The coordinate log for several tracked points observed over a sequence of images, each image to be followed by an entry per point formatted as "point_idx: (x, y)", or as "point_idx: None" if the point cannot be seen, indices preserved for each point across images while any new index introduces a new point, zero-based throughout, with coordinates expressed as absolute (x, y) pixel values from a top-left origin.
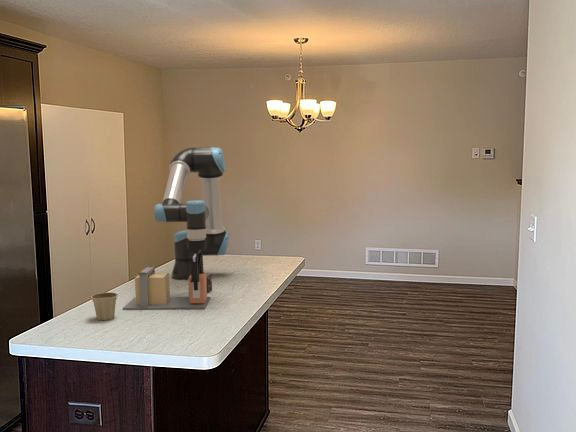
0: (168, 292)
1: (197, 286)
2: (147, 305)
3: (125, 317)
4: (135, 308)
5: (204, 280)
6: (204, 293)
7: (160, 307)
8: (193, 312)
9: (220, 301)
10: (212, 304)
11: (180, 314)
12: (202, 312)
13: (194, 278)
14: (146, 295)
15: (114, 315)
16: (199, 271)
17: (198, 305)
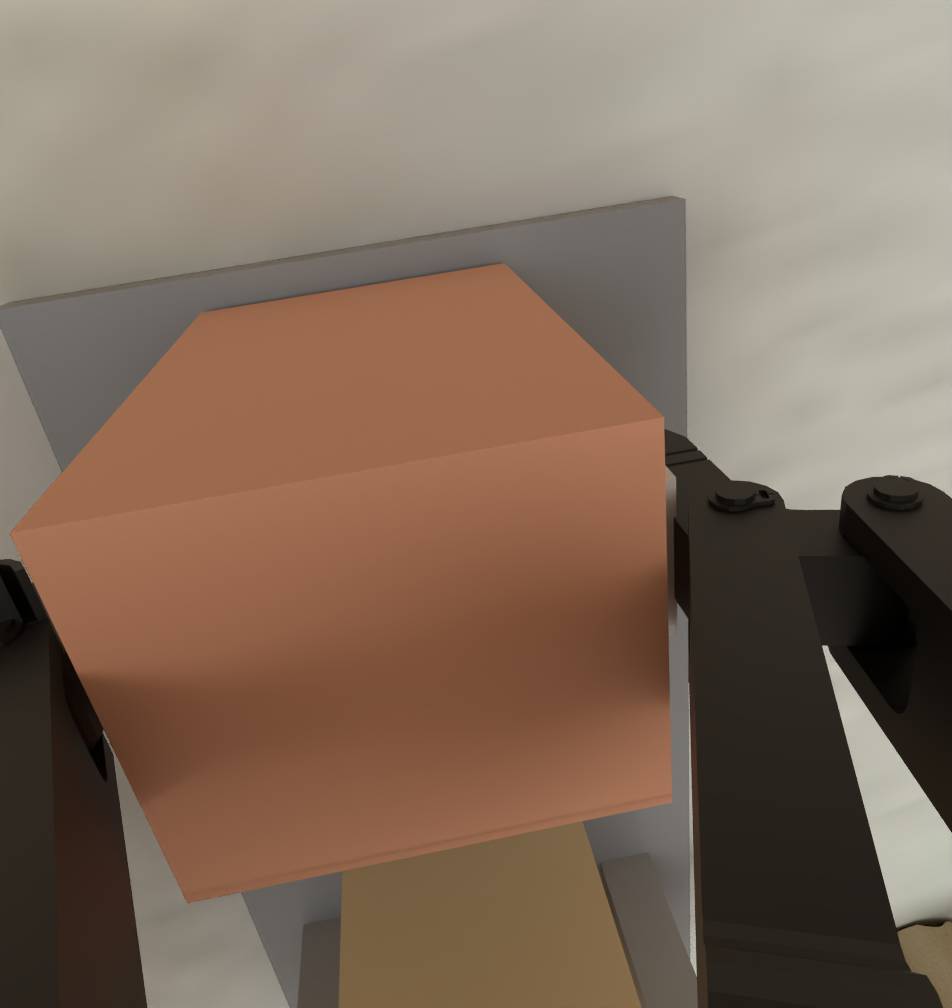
0: (415, 866)
1: (669, 465)
2: (652, 865)
3: (915, 862)
4: (686, 913)
5: (468, 398)
6: (484, 303)
7: (680, 739)
8: (824, 310)
9: (121, 39)
10: (364, 145)
11: (895, 445)
12: (838, 171)
13: (655, 656)
14: (694, 979)
15: (919, 939)
16: (85, 792)
17: (580, 332)
